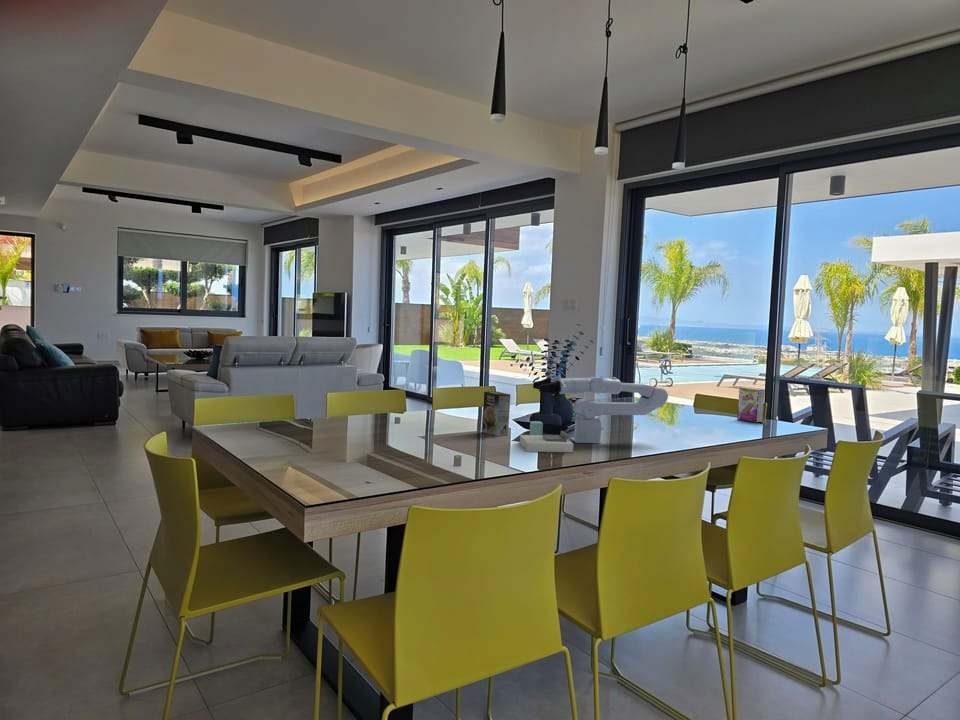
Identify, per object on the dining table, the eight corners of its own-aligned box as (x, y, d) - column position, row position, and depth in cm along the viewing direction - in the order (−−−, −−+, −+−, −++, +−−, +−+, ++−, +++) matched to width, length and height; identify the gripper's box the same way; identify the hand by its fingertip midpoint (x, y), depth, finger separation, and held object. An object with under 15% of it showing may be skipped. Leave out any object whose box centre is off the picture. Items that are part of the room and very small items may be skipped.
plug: (539, 438, 238) (540, 421, 238) (542, 440, 234) (542, 423, 234) (529, 438, 238) (530, 421, 237) (531, 440, 234) (532, 423, 233)
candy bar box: (736, 419, 313) (738, 386, 312) (743, 419, 316) (745, 386, 315) (756, 423, 303) (758, 389, 302) (762, 422, 306) (765, 389, 305)
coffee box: (481, 432, 246) (483, 391, 245) (494, 431, 250) (496, 390, 249) (496, 436, 239) (498, 394, 238) (509, 435, 243) (511, 393, 242)
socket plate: (562, 444, 229) (563, 436, 229) (572, 452, 215) (573, 443, 215) (519, 443, 227) (520, 435, 227) (527, 451, 213) (527, 442, 213)
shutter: (563, 437, 225) (563, 431, 225) (568, 441, 218) (568, 434, 218) (542, 437, 225) (542, 430, 224) (546, 440, 217) (547, 434, 217)
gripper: (565, 372, 240) (530, 373, 237) (578, 377, 226) (542, 379, 223) (564, 390, 241) (530, 391, 238) (578, 397, 227) (542, 398, 224)
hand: (536, 386), depth 231 cm, fingers open, 7 cm apart
